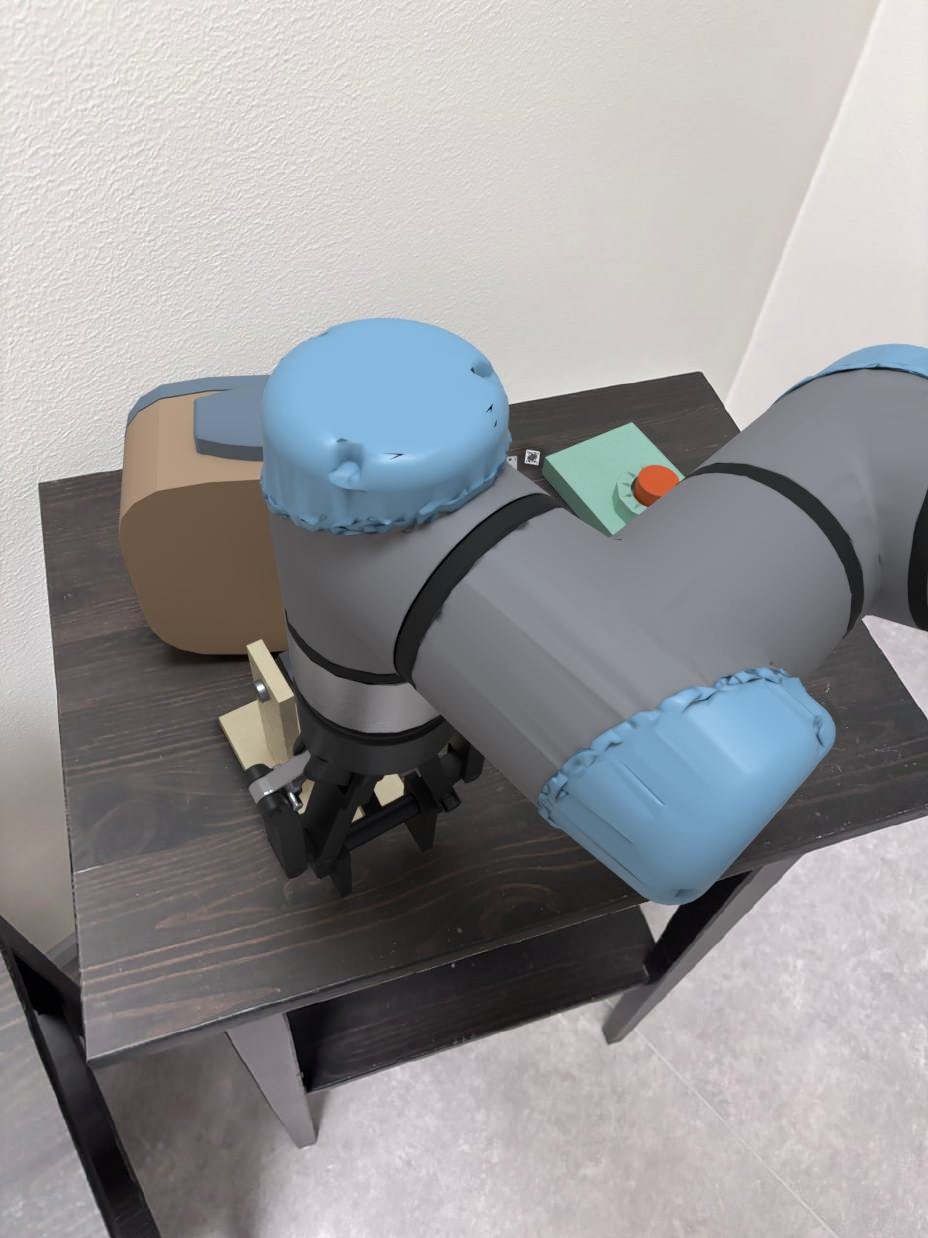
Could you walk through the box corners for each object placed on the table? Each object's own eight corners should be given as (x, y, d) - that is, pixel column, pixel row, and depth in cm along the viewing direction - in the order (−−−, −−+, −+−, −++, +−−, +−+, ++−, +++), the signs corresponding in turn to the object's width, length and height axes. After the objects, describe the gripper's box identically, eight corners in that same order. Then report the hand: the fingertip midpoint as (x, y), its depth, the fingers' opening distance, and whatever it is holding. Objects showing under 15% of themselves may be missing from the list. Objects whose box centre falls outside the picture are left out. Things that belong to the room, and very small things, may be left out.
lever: (416, 815, 56) (424, 811, 53) (342, 854, 54) (348, 853, 52) (327, 639, 57) (332, 629, 55) (253, 672, 55) (255, 663, 53)
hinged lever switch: (409, 804, 65) (419, 702, 52) (293, 866, 61) (274, 773, 49) (331, 675, 70) (323, 556, 58) (221, 727, 67) (188, 611, 55)
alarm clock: (416, 551, 77) (431, 345, 60) (432, 646, 72) (453, 451, 55) (165, 569, 74) (102, 357, 56) (162, 669, 69) (92, 470, 51)
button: (682, 500, 79) (688, 486, 77) (650, 515, 77) (655, 501, 76) (657, 473, 80) (662, 459, 79) (624, 487, 79) (629, 473, 77)
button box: (708, 526, 82) (723, 496, 79) (621, 567, 78) (632, 538, 75) (626, 438, 87) (636, 407, 84) (541, 473, 84) (548, 442, 81)
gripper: (508, 525, 44) (467, 745, 63) (141, 682, 37) (219, 874, 56) (601, 640, 40) (527, 835, 59) (215, 835, 34) (271, 984, 53)
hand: (377, 854), depth 58 cm, fingers closed on lever, 5 cm apart
